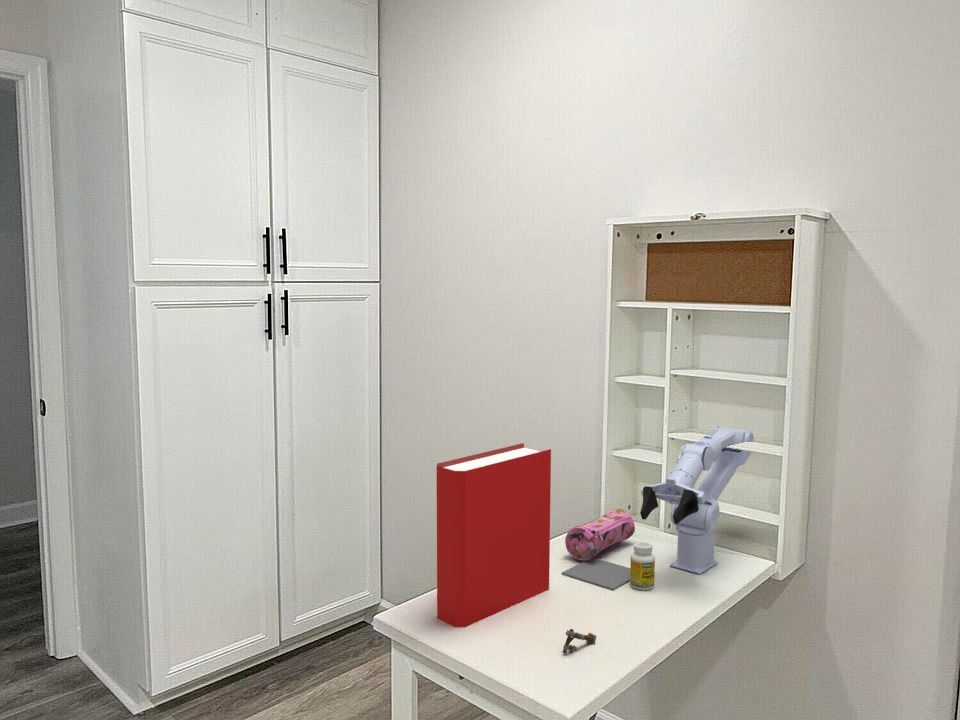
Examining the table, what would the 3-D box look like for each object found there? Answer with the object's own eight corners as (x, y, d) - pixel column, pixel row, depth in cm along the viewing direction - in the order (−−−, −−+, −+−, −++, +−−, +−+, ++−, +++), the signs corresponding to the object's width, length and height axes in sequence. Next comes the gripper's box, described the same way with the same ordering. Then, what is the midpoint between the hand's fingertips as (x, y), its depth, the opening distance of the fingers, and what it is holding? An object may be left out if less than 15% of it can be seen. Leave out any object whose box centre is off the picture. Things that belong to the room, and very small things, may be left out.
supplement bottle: (642, 579, 182) (643, 539, 181) (659, 587, 178) (660, 546, 177) (624, 584, 179) (625, 543, 178) (641, 593, 175) (643, 551, 174)
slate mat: (592, 558, 195) (592, 557, 195) (642, 573, 186) (642, 571, 186) (561, 574, 185) (561, 572, 185) (613, 590, 176) (613, 588, 176)
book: (522, 579, 182) (523, 443, 178) (549, 589, 177) (551, 448, 173) (433, 616, 163) (432, 464, 159) (460, 629, 158) (460, 472, 154)
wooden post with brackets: (556, 650, 147) (564, 626, 148) (583, 654, 152) (590, 631, 153) (563, 654, 146) (571, 630, 147) (590, 658, 151) (597, 634, 152)
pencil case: (595, 566, 189) (596, 530, 188) (562, 557, 194) (563, 522, 194) (637, 543, 206) (638, 510, 205) (605, 536, 211) (606, 503, 210)
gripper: (648, 463, 184) (624, 499, 175) (708, 468, 175) (686, 506, 166) (655, 488, 187) (631, 524, 177) (715, 494, 178) (693, 533, 168)
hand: (658, 518), depth 172 cm, fingers open, 7 cm apart
